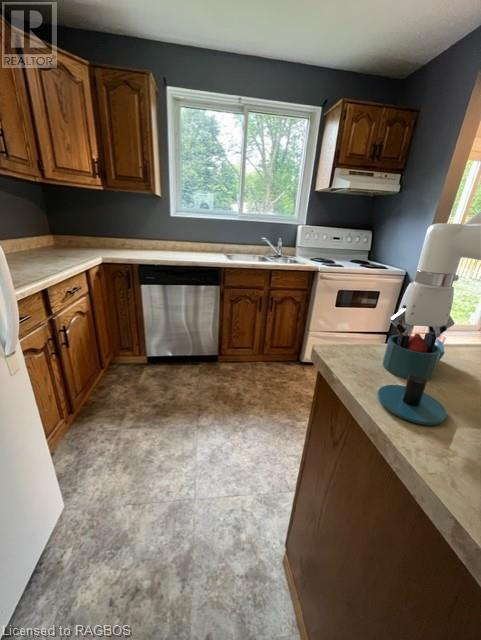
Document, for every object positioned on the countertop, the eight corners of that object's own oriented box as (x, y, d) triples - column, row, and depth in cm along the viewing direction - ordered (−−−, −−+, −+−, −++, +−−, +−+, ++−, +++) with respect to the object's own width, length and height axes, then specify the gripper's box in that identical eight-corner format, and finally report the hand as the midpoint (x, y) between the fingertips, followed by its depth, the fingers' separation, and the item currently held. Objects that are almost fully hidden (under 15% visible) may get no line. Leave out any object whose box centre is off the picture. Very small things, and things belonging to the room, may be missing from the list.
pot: (415, 360, 77) (423, 336, 74) (442, 382, 66) (452, 355, 64) (375, 357, 77) (381, 333, 75) (395, 380, 66) (403, 352, 64)
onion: (401, 354, 75) (408, 327, 72) (425, 361, 71) (434, 333, 68) (395, 361, 71) (402, 332, 68) (420, 369, 67) (429, 340, 64)
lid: (421, 390, 63) (429, 365, 60) (460, 429, 51) (472, 399, 49) (367, 387, 63) (373, 362, 60) (393, 425, 51) (402, 395, 49)
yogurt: (425, 356, 81) (437, 339, 78) (430, 359, 80) (442, 342, 77) (424, 369, 71) (438, 350, 68) (430, 372, 70) (444, 353, 68)
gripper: (459, 277, 67) (438, 344, 73) (388, 274, 67) (373, 341, 73) (483, 284, 60) (458, 357, 66) (405, 281, 60) (387, 354, 66)
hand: (414, 348), depth 69 cm, fingers closed on onion, 5 cm apart
